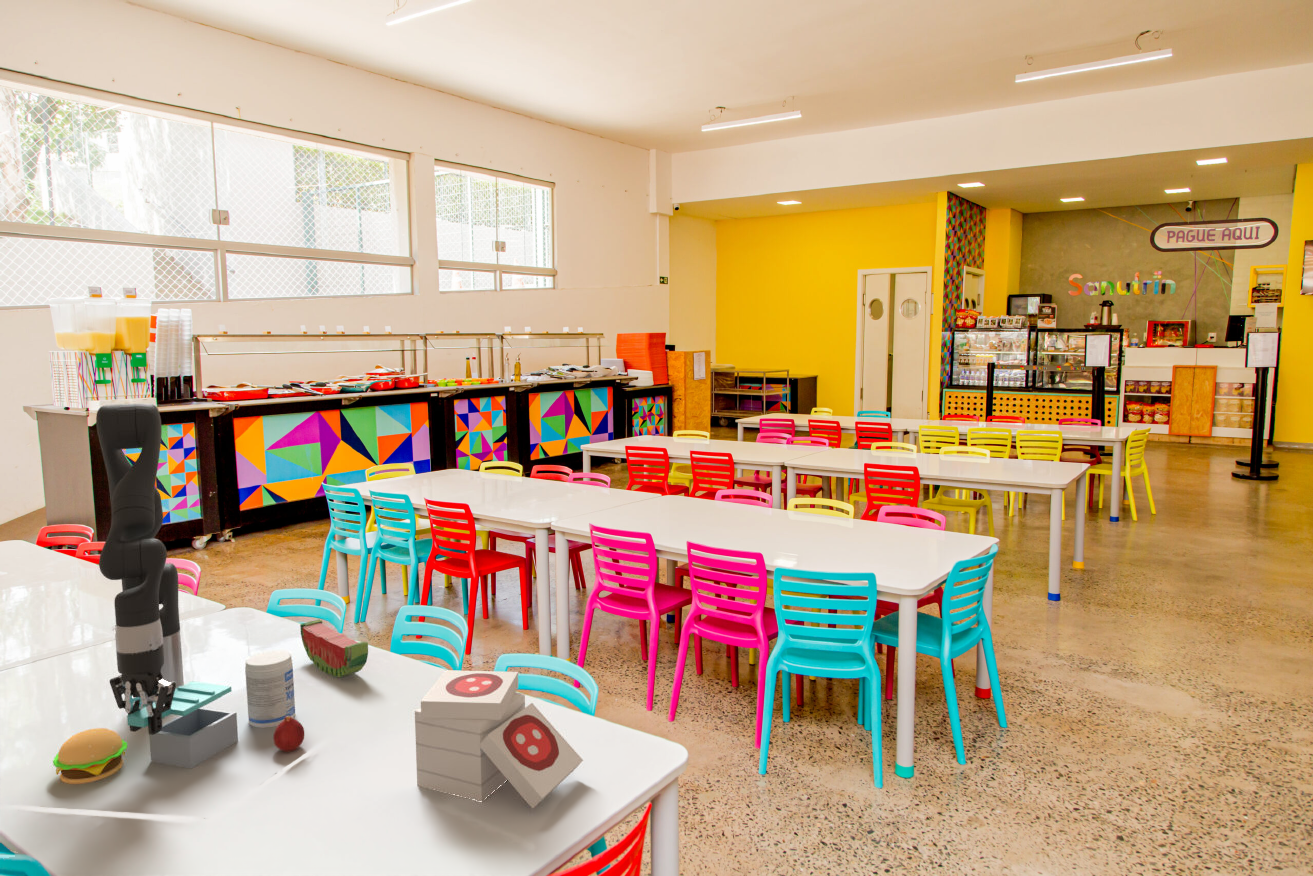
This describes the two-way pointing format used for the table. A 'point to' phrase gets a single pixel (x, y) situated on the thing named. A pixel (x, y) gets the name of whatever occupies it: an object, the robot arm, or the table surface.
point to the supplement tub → (269, 688)
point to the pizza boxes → (487, 739)
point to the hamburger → (90, 756)
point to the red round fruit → (289, 734)
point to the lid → (183, 701)
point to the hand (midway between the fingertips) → (146, 731)
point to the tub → (194, 737)
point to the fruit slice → (333, 649)
